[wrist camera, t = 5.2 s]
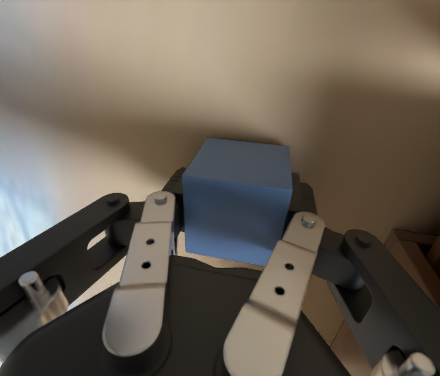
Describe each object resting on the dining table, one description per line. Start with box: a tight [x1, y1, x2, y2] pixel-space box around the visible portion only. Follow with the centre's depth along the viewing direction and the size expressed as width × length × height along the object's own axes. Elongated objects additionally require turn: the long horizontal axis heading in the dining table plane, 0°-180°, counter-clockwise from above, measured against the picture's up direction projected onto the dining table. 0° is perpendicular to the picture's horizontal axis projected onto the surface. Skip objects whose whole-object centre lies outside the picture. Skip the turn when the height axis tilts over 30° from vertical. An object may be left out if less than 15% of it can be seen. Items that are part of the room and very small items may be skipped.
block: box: [182, 137, 293, 266], centre depth 13 cm, size 4×4×4 cm
